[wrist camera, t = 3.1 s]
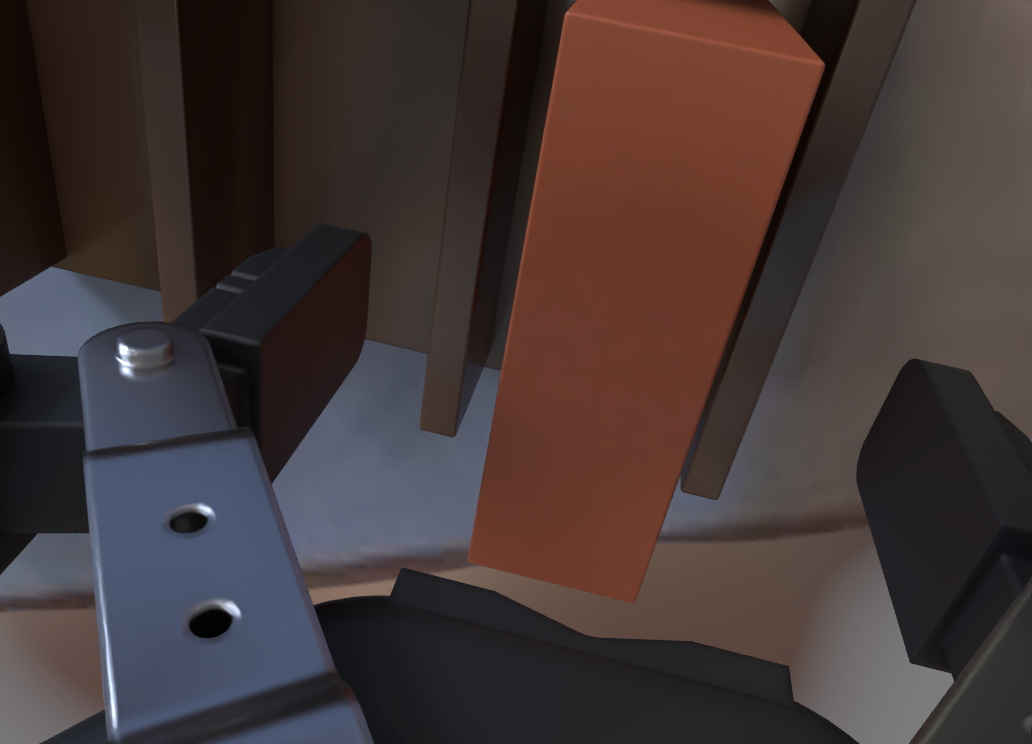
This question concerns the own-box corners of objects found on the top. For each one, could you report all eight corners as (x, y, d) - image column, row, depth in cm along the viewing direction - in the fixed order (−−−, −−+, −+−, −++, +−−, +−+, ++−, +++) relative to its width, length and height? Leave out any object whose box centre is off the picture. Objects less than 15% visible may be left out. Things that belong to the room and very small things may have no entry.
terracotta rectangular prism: (550, 297, 23) (465, 567, 14) (621, -48, 18) (565, 10, 9) (650, 320, 23) (633, 608, 14) (749, -23, 18) (827, 62, 9)
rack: (56, 255, 26) (-186, 396, 19) (-42, -330, 18) (-531, -484, 11) (705, 405, 25) (718, 620, 18) (905, -157, 17) (1084, -197, 10)
